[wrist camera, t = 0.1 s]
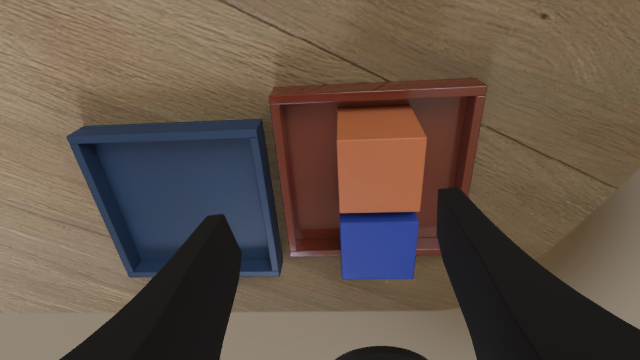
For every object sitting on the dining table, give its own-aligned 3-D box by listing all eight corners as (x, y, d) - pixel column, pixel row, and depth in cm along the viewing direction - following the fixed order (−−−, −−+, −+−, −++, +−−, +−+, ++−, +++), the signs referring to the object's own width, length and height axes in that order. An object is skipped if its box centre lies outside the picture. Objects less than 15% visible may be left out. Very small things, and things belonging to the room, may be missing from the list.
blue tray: (283, 260, 26) (279, 276, 25) (139, 262, 27) (128, 277, 26) (262, 118, 21) (256, 129, 19) (83, 125, 22) (65, 136, 20)
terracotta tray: (451, 238, 25) (458, 254, 23) (292, 241, 25) (290, 256, 24) (477, 77, 19) (487, 85, 18) (273, 87, 20) (268, 95, 18)
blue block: (401, 229, 24) (413, 279, 20) (341, 230, 24) (342, 280, 20) (405, 177, 22) (419, 221, 18) (339, 179, 22) (339, 223, 18)
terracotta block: (405, 168, 22) (420, 212, 18) (339, 171, 22) (339, 213, 18) (410, 104, 20) (427, 137, 16) (337, 107, 20) (336, 140, 16)
